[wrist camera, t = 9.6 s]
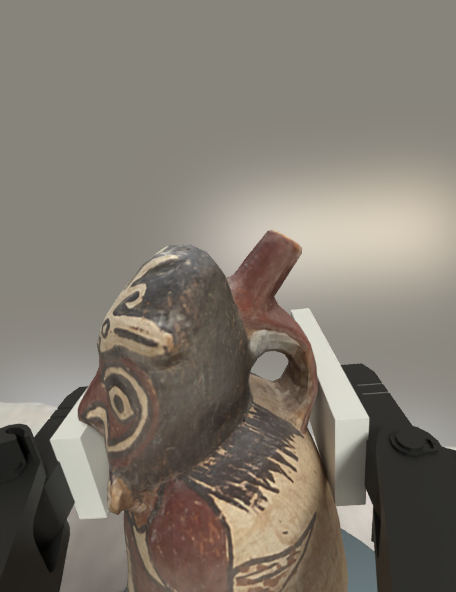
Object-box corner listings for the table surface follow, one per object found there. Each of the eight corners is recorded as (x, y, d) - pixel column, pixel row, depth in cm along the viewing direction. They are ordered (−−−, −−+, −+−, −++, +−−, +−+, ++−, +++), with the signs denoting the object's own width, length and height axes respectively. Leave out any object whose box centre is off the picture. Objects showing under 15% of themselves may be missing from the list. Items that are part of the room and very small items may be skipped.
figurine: (148, 505, 14) (77, 237, 10) (302, 477, 15) (292, 211, 11) (111, 783, 8) (-128, 334, 4) (395, 717, 8) (457, 254, 4)
